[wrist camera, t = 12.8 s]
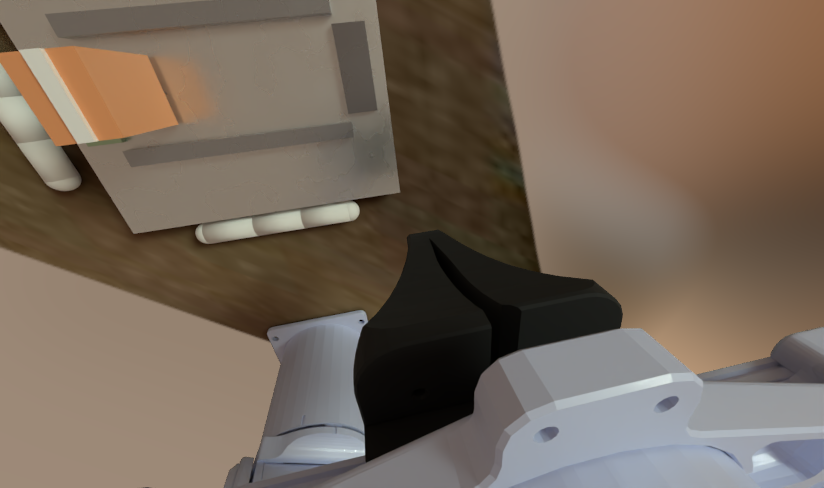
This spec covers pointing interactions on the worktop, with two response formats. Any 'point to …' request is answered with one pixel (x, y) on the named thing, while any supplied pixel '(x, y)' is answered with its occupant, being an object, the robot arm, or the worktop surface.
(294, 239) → the worktop surface
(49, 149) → the rod
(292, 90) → the breaker panel
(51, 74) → the lever
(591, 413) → the robot arm
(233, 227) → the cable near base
